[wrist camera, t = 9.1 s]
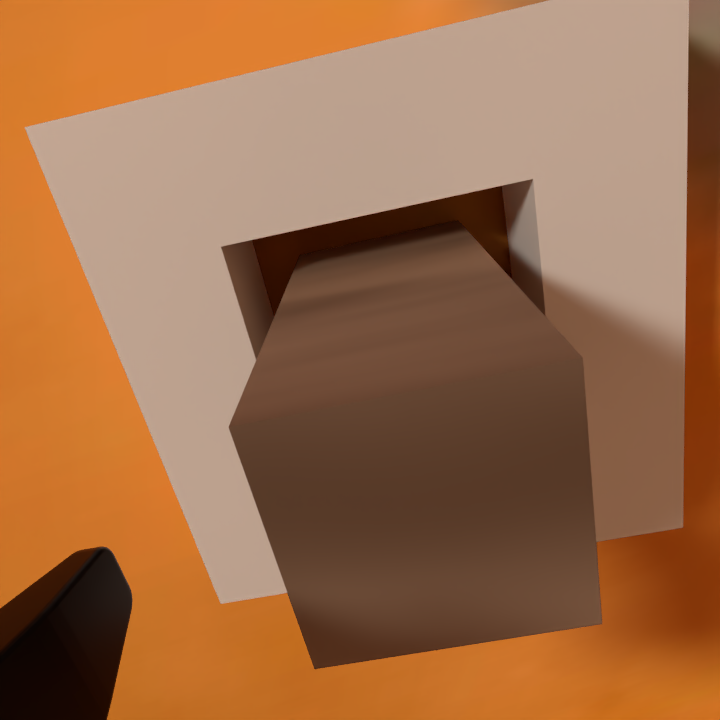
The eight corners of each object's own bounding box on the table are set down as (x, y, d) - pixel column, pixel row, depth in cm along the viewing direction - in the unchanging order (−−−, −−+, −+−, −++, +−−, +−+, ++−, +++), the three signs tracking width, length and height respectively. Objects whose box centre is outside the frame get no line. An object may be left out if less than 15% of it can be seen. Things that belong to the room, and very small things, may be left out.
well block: (632, 462, 18) (683, 527, 15) (241, 530, 19) (220, 603, 16) (618, -3, 13) (689, -34, 10) (91, 124, 14) (24, 127, 11)
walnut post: (479, 366, 16) (602, 624, 8) (336, 394, 17) (314, 669, 8) (458, 220, 15) (582, 357, 7) (299, 255, 15) (228, 427, 7)
